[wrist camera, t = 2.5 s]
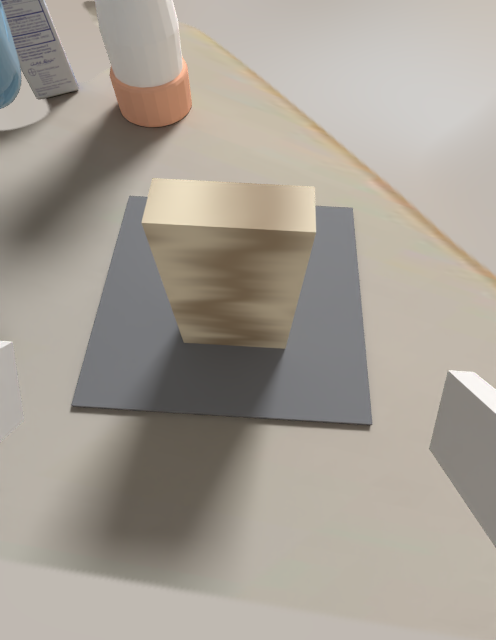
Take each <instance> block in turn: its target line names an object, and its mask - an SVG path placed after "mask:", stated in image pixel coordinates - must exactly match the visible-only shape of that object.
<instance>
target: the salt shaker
mask: <svg viewBox="0 0 496 640" xmlns="http://www.w3.org/2000/svg"><path fill="white" fill-rule="evenodd" d="M95 4H96V11H97V17H98V23H99V29H100V32H101V36H102V38H103V42H104V45H105V48H106V50H107V54H108V57H109V60H110V63H111V69H110V78H111V81H112V85H113V88H114V91H115V94H116V98H117V101H118V104H119V107H120V110H121V113H122V115H123V116H124V117H125V118H126V119H127V120H128V121H129V122H132V123H134V124H136V125H139V126H145V127H162V126H166V125H170V124H173V123H175V122H177V121H179V120H181V119H182V118H183V117H184V116H185V115H187V114H188V113H189V110H190V108H191V106H192V101H191V92H190V84H189V76H188V68H187V64H186V62H185V61H184V59H183V57H182V53H181V44H180V34H179V25H178V19H177V15H176V11H175V8H174V4H173V0H95Z"/></svg>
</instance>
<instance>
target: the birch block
mask: <svg viewBox="0 0 496 640" xmlns="http://www.w3.org/2000/svg"><path fill="white" fill-rule="evenodd" d="M141 223H142V226H143V229H144V231H145V234H146V237H147V240H148V243H149V246H150V248H151V251H152V254H153V257H154V260H155V263H156V265H157V268H158V271H159V274H160V277H161V280H162V282H163V285H164V288H165V291H166V294H167V297H168V299H169V302H170V305H171V308H172V311H173V314H174V316H175V319H176V322H177V325H178V328H179V331H180V333H181V336H182V339H183V342H184V343H198V344H215V345H231V346H248V347H265V348H282V349H285V348H286V345H287V341H288V337H289V333H290V329H291V326H292V322H293V318H294V314H295V311H296V307H297V303H298V299H299V295H300V292H301V288H302V284H303V280H304V276H305V273H306V269H307V265H308V261H309V258H310V254H311V250H312V246H313V242H314V239H315V235H316V211H315V187H310V186H291V185H272V184H253V183H234V182H215V181H196V180H177V179H158V178H152V182H151V186H150V190H149V194H148V198H147V202H146V206H145V210H144V214H143V218H142V222H141Z"/></svg>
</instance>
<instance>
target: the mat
mask: <svg viewBox="0 0 496 640" xmlns="http://www.w3.org/2000/svg"><path fill="white" fill-rule="evenodd" d="M147 198H148V197H140V196H129V199H128V203H127V206H126V210H125V213H124V217H123V221H122V224H121V228H120V231H119V235H118V239H117V242H116V246H115V249H114V253H113V257H112V260H111V264H110V267H109V271H108V275H107V278H106V282H105V285H104V289H103V293H102V296H101V300H100V304H99V307H98V311H97V314H96V318H95V322H94V325H93V329H92V332H91V336H90V340H89V343H88V347H87V350H86V354H85V358H84V361H83V365H82V368H81V372H80V376H79V379H78V383H77V386H76V390H75V394H74V397H73V401H72V404H71V405H72V406H73V407H89V408H105V409H121V410H137V411H153V412H169V413H185V414H201V415H217V416H233V417H249V418H265V419H281V420H297V421H313V422H329V423H345V424H361V425H372V415H371V404H370V393H369V382H368V371H367V360H366V349H365V338H364V328H363V317H362V306H361V295H360V284H359V273H358V262H357V251H356V240H355V229H354V218H353V208H346V207H328V206H315V211H316V235H315V239H314V242H313V246H312V250H311V254H310V258H309V261H308V265H307V269H306V273H305V276H304V280H303V284H302V288H301V292H300V295H299V299H298V303H297V307H296V311H295V314H294V318H293V322H292V326H291V329H290V333H289V337H288V341H287V345H286V348H285V349H282V348H265V347H248V346H231V345H215V344H198V343H184V342H183V339H182V336H181V333H180V331H179V328H178V325H177V322H176V319H175V316H174V314H173V311H172V308H171V305H170V302H169V299H168V297H167V294H166V291H165V288H164V285H163V282H162V280H161V277H160V274H159V271H158V268H157V265H156V263H155V260H154V257H153V254H152V251H151V248H150V246H149V243H148V240H147V237H146V234H145V231H144V229H143V226H142V223H141V222H142V218H143V214H144V210H145V206H146V202H147Z"/></svg>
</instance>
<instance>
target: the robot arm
mask: <svg viewBox="0 0 496 640" xmlns="http://www.w3.org/2000/svg"><path fill="white" fill-rule="evenodd" d="M20 86H21V69H20V63H19V59H18V55H17V52H16V48H15V44H14V41H13V37H12V34H11V31H10V28H9V24H8V21H7V18H6V14H5V11H4V8H3V5H2V2H1V0H0V109H1V108H4V107H6V106H8V105H9V104H10V103H12V102H13V101H14V99H15V98H16V96H17V94H18V93H19V90H20ZM23 421H24V415H23V408H22V401H21V394H20V388H19V381H18V374H17V367H16V360H15V354H14V347H13V342H11V341H0V442H1V441H2V440H3V439H5V438H6V437H7V436H8V435H9V434H10V433H11V432H12V431H13V430H14V429H16V428H17V427H18V426H19V425H20V424H21V423H22V422H23ZM429 449H430V451H431V452H432V454H433V455H434V457H435V458H436V460H437V461H438V463H439V464H440V466H441V467H442V469H443V470H444V472H445V473H446V475H447V476H448V477H449V479H450V480H451V482H452V483H453V485H454V486H455V488H456V489H457V491H458V492H459V494H460V495H461V497H462V498H463V500H464V501H465V503H466V504H467V506H468V507H469V509H470V510H471V512H472V513H473V515H474V516H475V518H476V519H477V521H478V522H479V523H480V525H481V526H482V528H483V529H484V531H485V532H486V534H487V535H488V537H489V538H490V540H491V541H492V543H493V544H494V546H495V547H496V389H494V388H493V387H492V386H491V385H490V384H488V383H487V382H486V381H485V380H483V379H482V378H481V377H480V376H478V375H477V374H476V373H475V372H466V371H451V370H448V372H447V377H446V381H445V385H444V389H443V393H442V397H441V402H440V406H439V410H438V414H437V418H436V422H435V427H434V431H433V435H432V439H431V443H430V447H429Z"/></svg>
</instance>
